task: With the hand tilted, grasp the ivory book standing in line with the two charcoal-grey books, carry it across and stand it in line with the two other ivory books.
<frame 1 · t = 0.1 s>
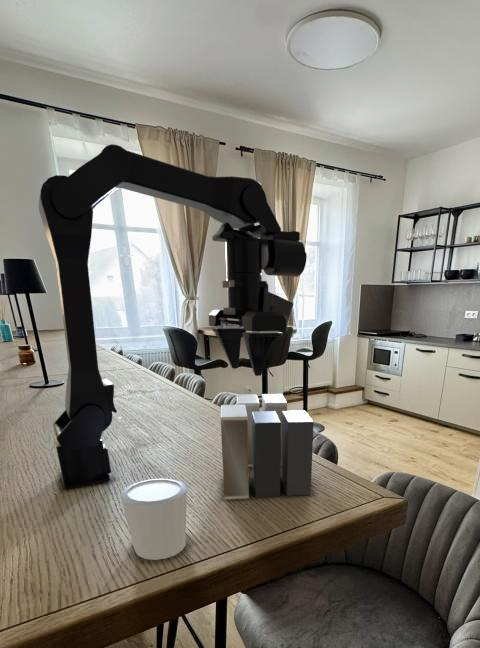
hand: (246, 371, 72), 15 cm above the counter, tool pointing down, fingers open, 9 cm apart
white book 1: (248, 459, 73), on the counter
white book 2: (273, 458, 74), on the counter
grey book 1: (265, 487, 62), on the counter
white cup: (160, 547, 47), on the counter
white book: (236, 488, 61), on the counter
grey book 2: (295, 486, 63), on the counter
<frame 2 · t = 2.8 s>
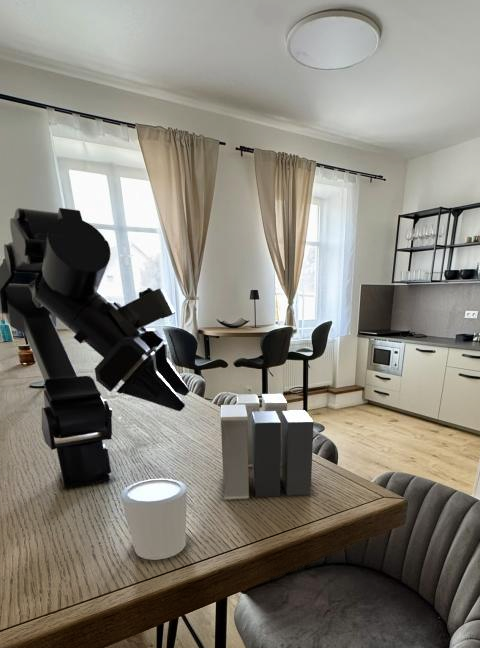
hand: (185, 400, 56), 13 cm above the counter, tool tilted 45°, fingers open, 9 cm apart
nothing on the counter moved.
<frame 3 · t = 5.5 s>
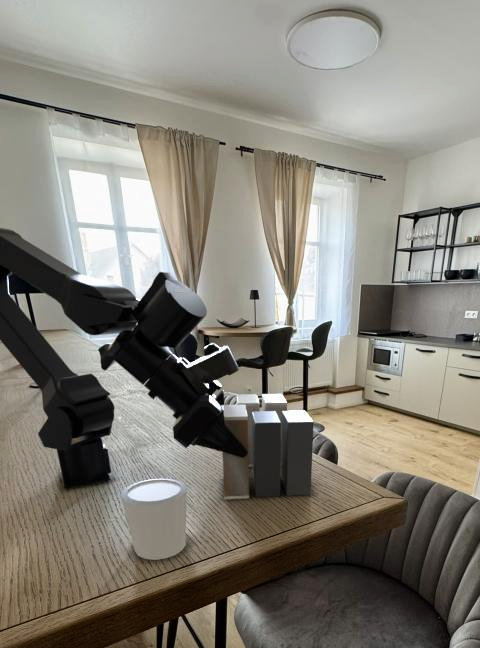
hand: (244, 446, 59), 7 cm above the counter, tool tilted 45°, fingers closed on white book, 7 cm apart
white book: (236, 488, 61), on the counter, touching gripper
everything else where it was.
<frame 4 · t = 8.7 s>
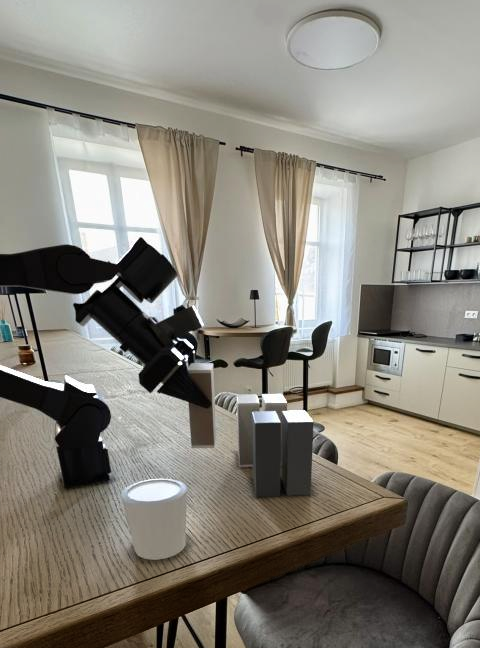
hand: (211, 401, 65), 11 cm above the counter, tool tilted 45°, fingers closed on white book, 7 cm apart
white book: (204, 441, 67), point 5 cm above the counter, touching gripper
everything else where it was.
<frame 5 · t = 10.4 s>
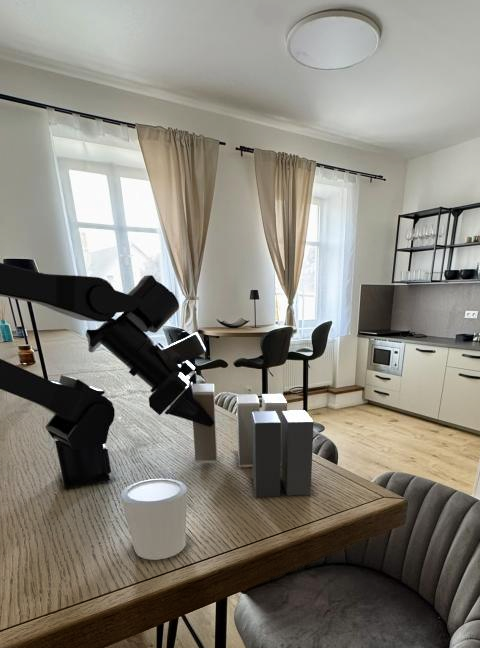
hand: (213, 418, 70), 8 cm above the counter, tool tilted 45°, fingers closed on white book, 7 cm apart
white book: (206, 456, 72), point 1 cm above the counter, touching gripper
everything else where it was.
when the fingers open (7 cm above the counter, at t = 11.9 s): white book stays where it is, on the counter.
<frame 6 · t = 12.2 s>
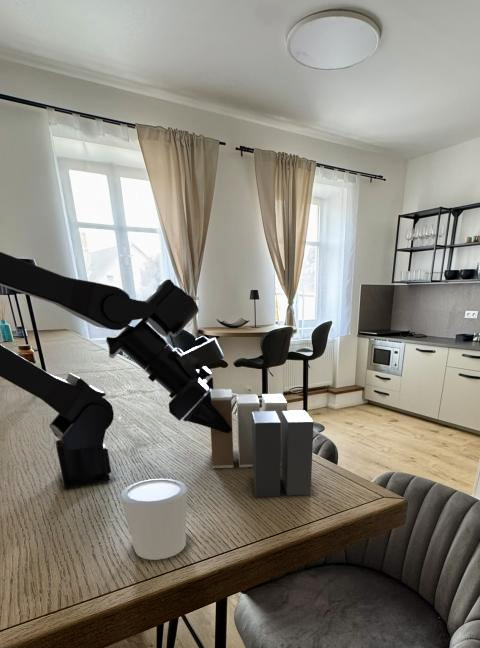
hand: (229, 423, 70), 7 cm above the counter, tool tilted 45°, fingers open, 9 cm apart
white book: (223, 460, 72), on the counter
everything else where it was.
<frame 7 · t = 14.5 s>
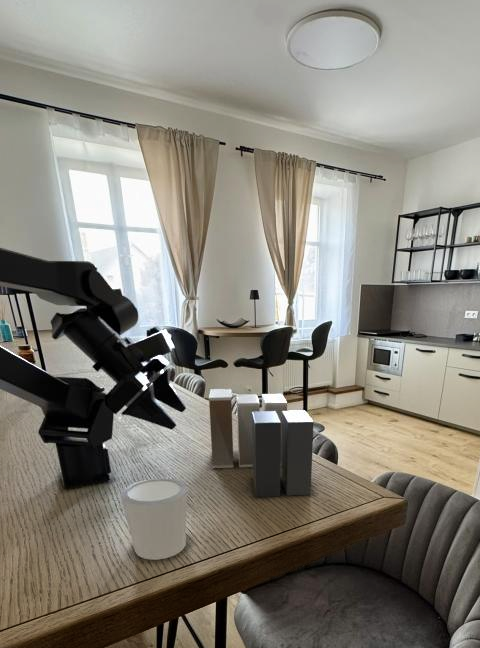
hand: (179, 418, 69), 8 cm above the counter, tool tilted 40°, fingers open, 9 cm apart
nothing on the counter moved.
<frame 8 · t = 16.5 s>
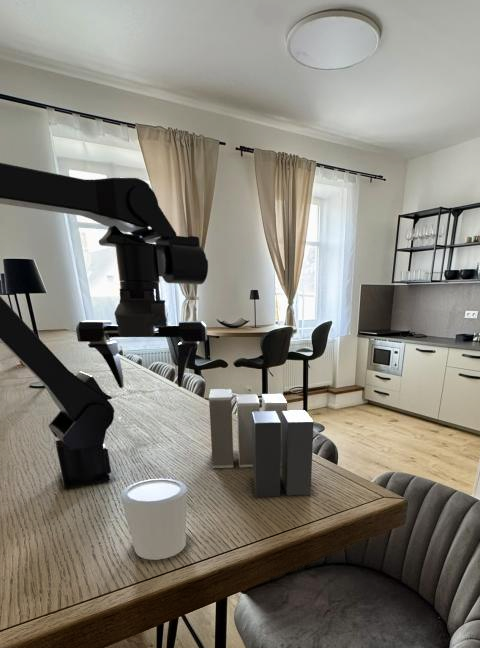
hand: (151, 387, 67), 13 cm above the counter, tool pointing down, fingers open, 9 cm apart
nothing on the counter moved.
at the end: white book 4.5 cm from the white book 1 (horizontally); white book tilted 0°; the gripper is holding nothing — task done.
